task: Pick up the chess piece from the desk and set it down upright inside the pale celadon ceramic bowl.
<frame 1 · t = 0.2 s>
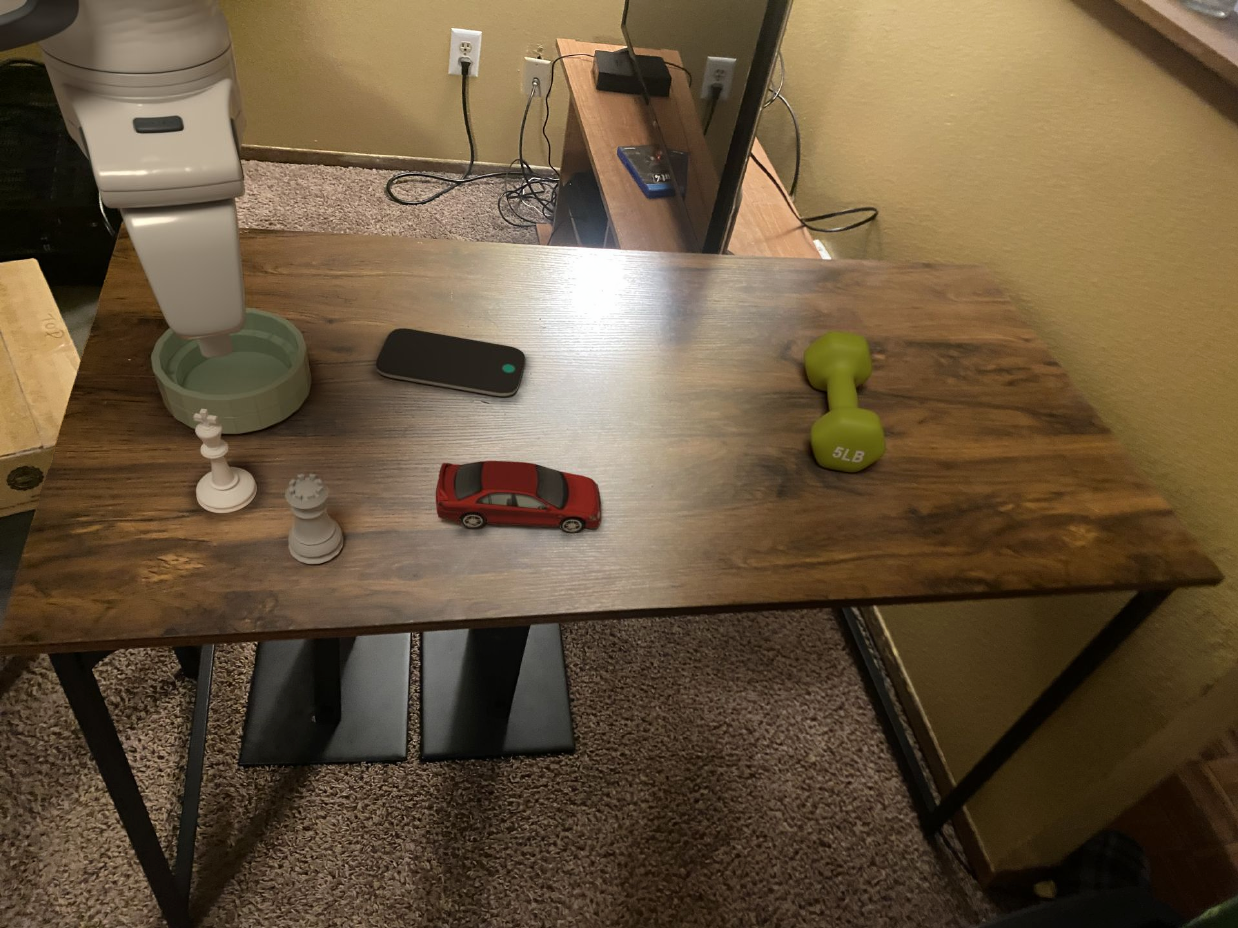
hand: (206, 304, 54), 24 cm above the table, tool pointing down, fingers open, 8 cm apart
bowl: (239, 389, 83), on the table
toy car: (518, 512, 78), on the table
dumbbell: (830, 424, 93), on the table
rook chess piece: (317, 547, 72), on the table
chess piece: (227, 493, 74), on the table
smartphone: (452, 366, 90), on the table
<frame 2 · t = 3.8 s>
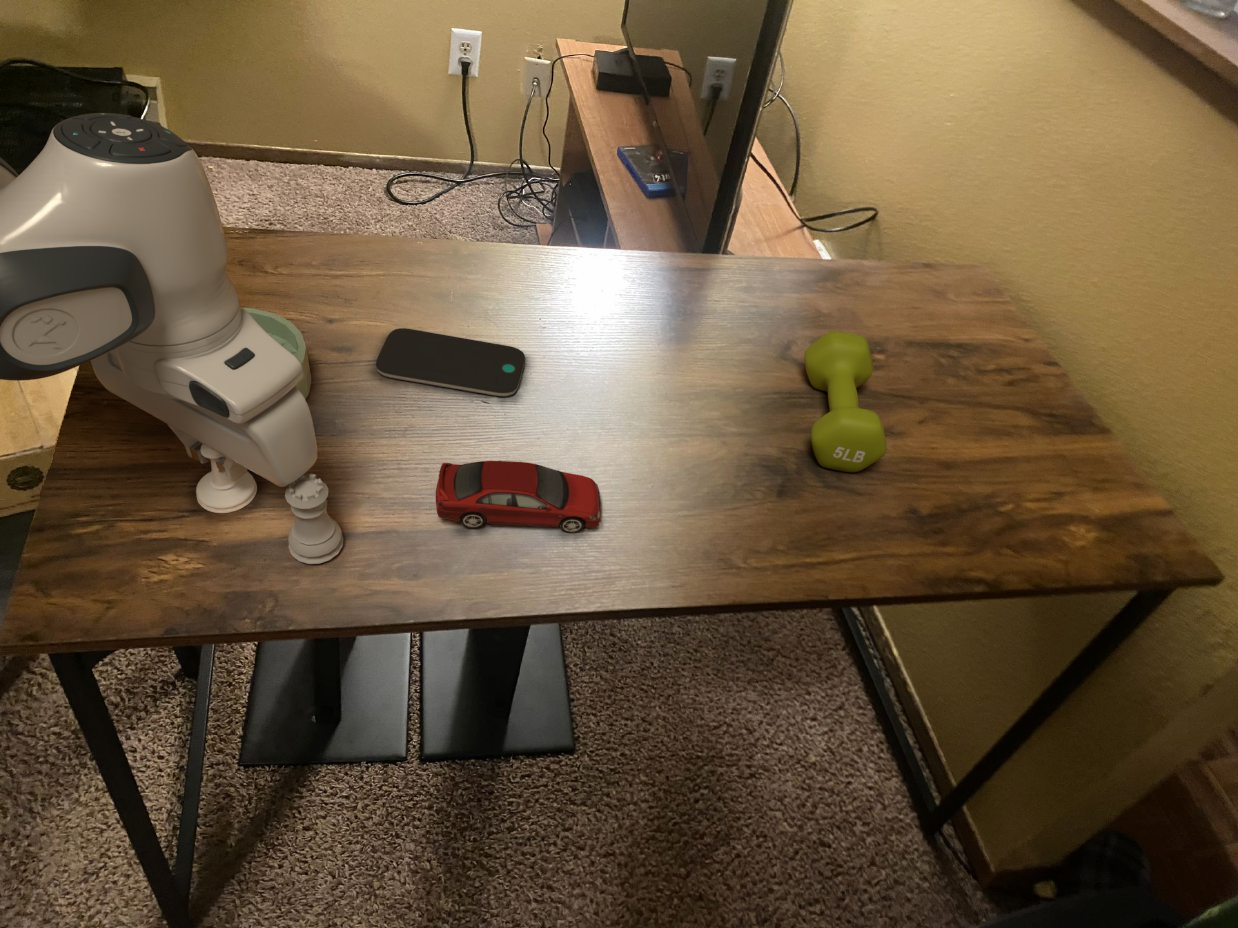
hand: (219, 464, 71), 4 cm above the table, tool pointing down, fingers closed on chess piece
chess piece: (227, 493, 74), on the table, touching gripper
everything else where it was.
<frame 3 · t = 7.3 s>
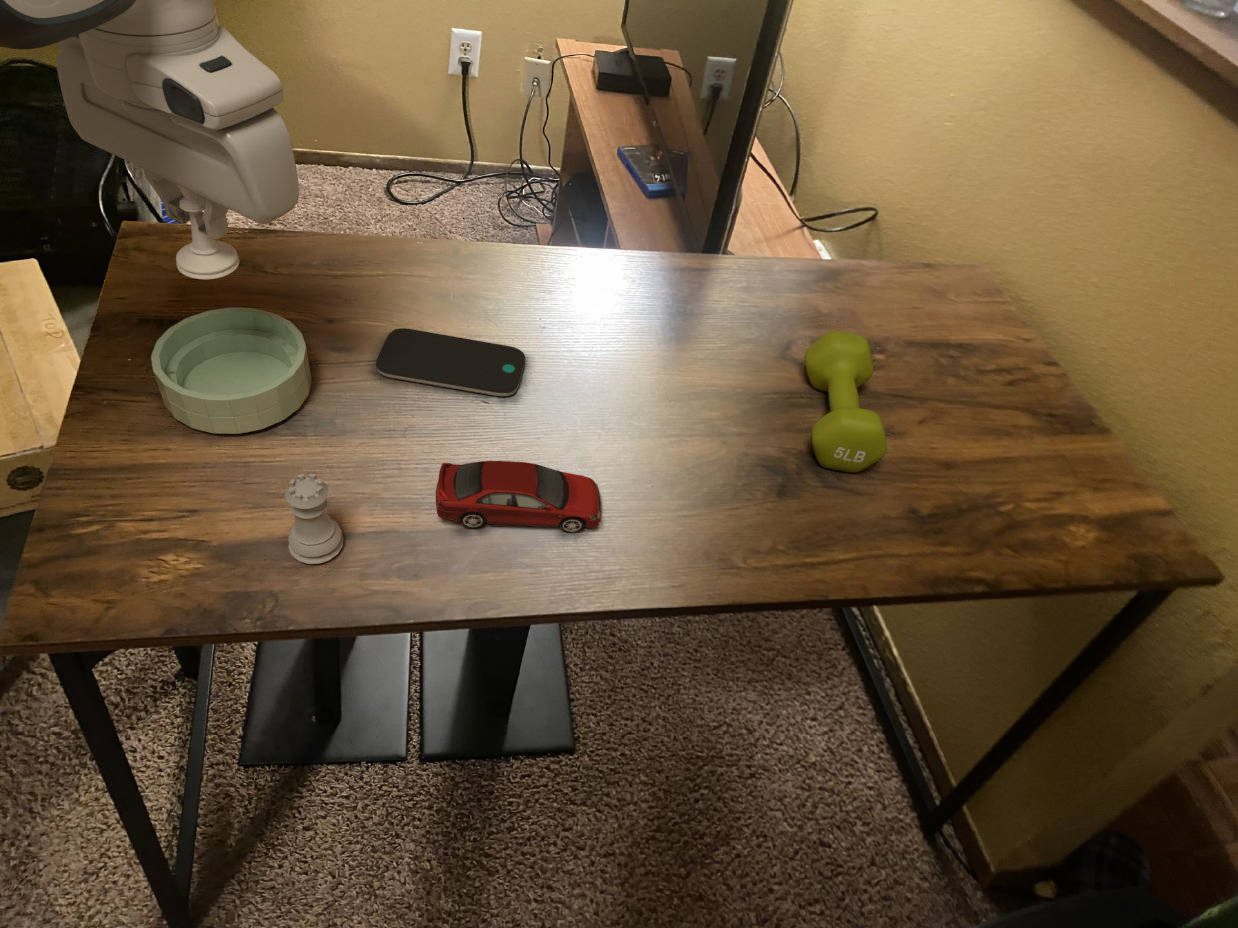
hand: (199, 226, 69), 19 cm above the table, tool pointing down, fingers closed on chess piece
chess piece: (208, 264, 72), point 15 cm above the table, touching gripper
everything else where it was.
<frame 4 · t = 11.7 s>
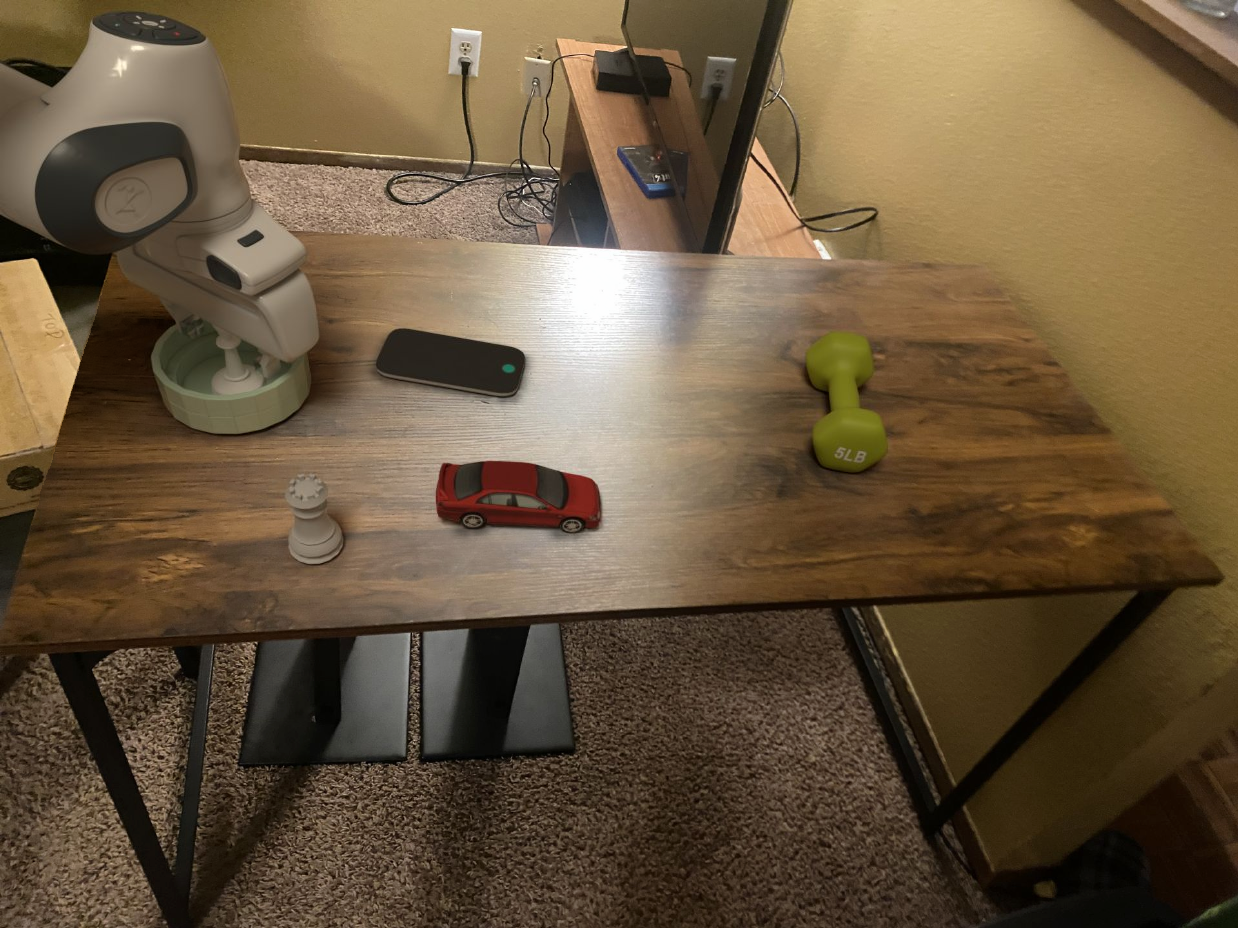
hand: (230, 353, 79), 5 cm above the table, tool pointing down, fingers open, 8 cm apart
chess piece: (239, 386, 82), resting on bowl
everything else where it was.
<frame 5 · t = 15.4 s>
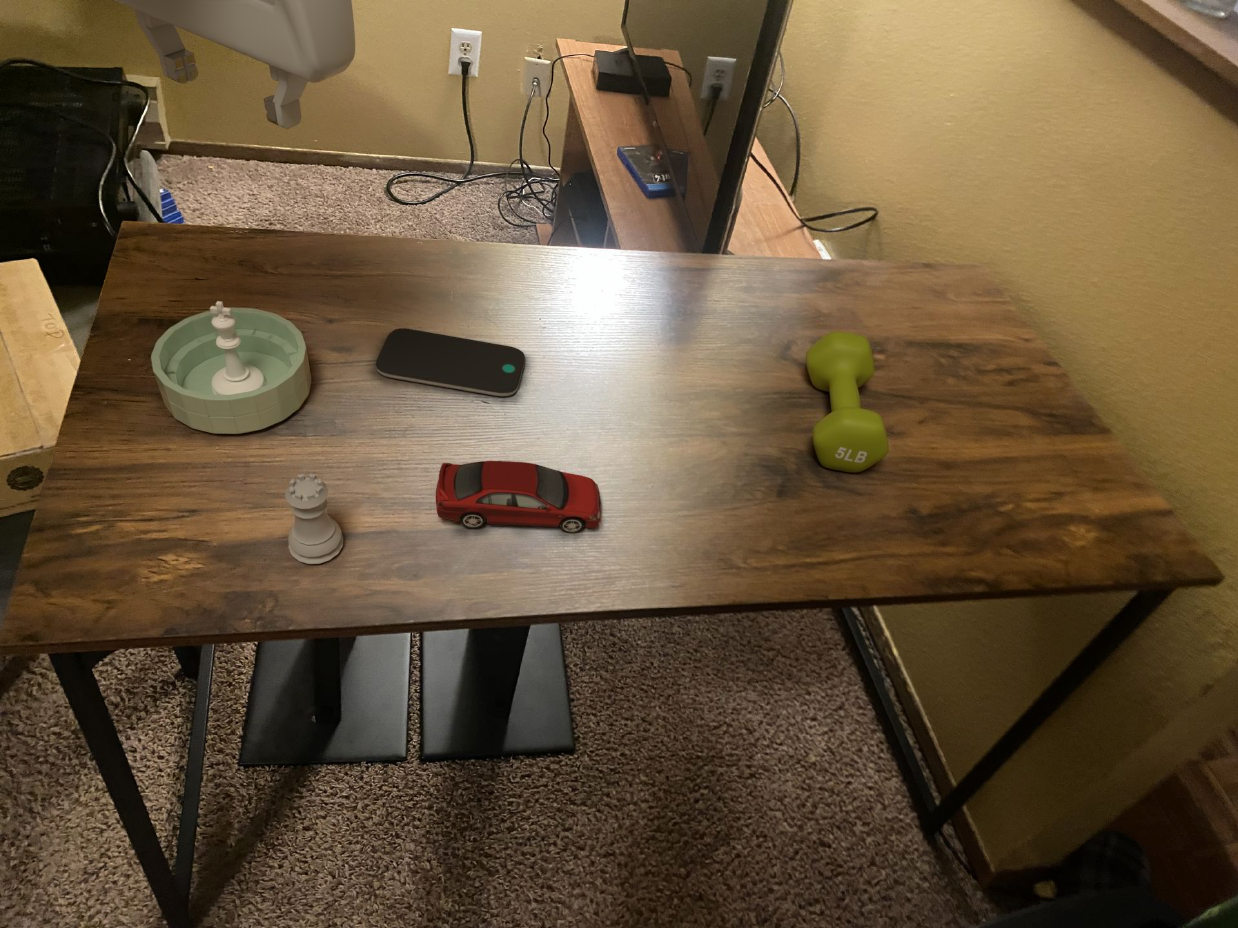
hand: (232, 100, 59), 31 cm above the table, tool pointing down, fingers open, 8 cm apart
nothing on the table moved.
at the end: chess piece inside the target area in the bowl (0.0 cm from its centre), point 0.4 cm above the bowl's base; chess piece tilted 0°; the gripper is holding nothing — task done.
